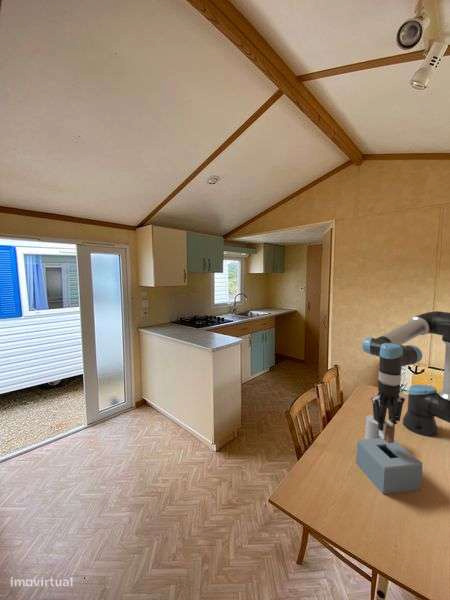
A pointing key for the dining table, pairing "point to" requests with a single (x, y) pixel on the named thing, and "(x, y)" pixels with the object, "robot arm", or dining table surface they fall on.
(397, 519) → the dining table surface
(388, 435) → the brown square block
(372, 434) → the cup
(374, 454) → the coin box
